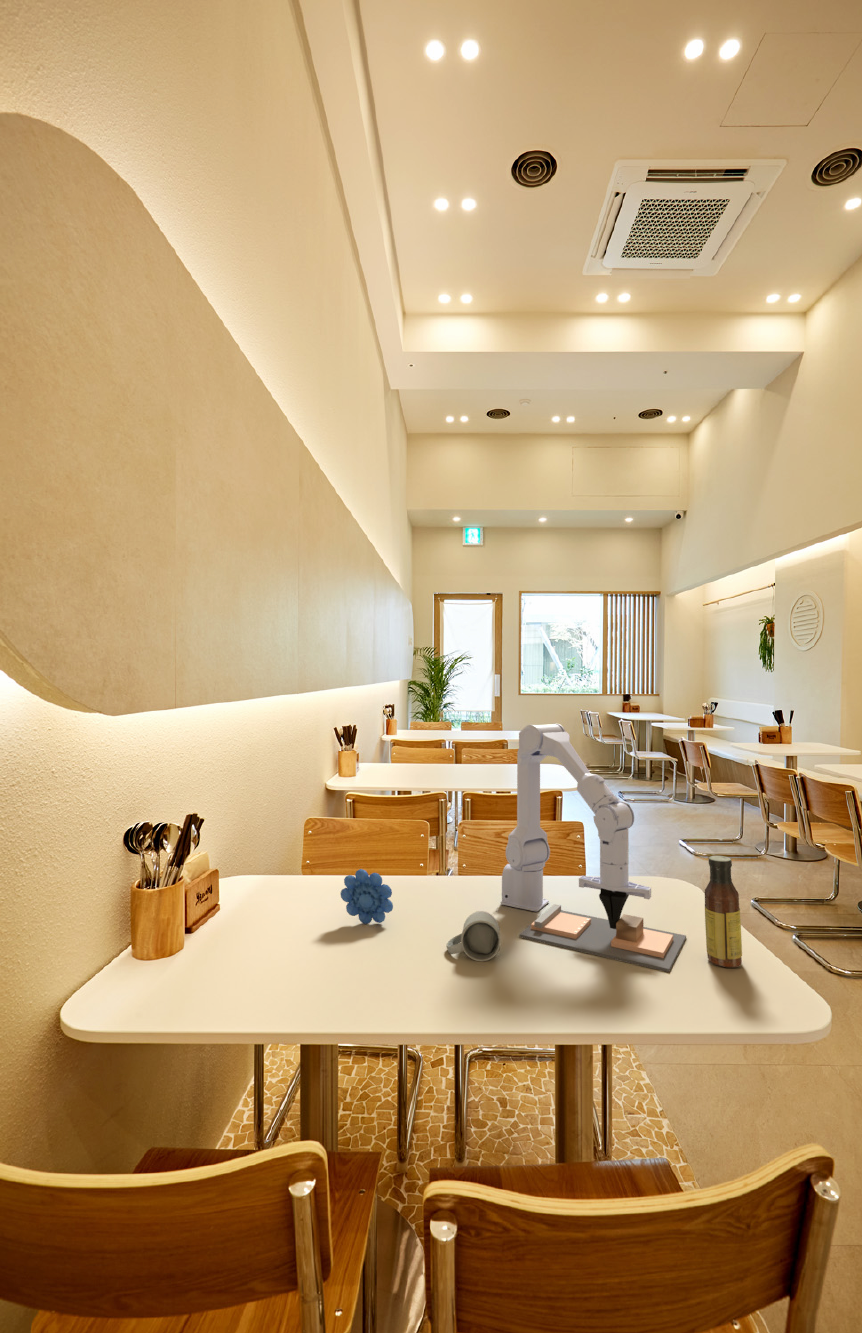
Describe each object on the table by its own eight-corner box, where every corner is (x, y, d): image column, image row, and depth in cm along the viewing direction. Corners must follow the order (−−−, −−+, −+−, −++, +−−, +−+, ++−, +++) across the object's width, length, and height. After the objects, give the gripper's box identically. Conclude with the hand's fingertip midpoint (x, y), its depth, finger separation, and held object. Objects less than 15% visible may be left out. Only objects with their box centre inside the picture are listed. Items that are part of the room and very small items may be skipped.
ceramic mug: (499, 944, 128) (498, 906, 129) (501, 962, 120) (500, 921, 120) (447, 943, 129) (447, 906, 129) (445, 961, 121) (445, 921, 121)
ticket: (529, 930, 134) (529, 920, 134) (549, 912, 144) (549, 903, 144) (574, 940, 129) (574, 929, 129) (592, 921, 139) (592, 911, 139)
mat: (519, 937, 132) (519, 934, 132) (549, 910, 147) (549, 907, 147) (669, 972, 116) (669, 969, 116) (686, 938, 132) (686, 935, 132)
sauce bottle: (739, 957, 123) (739, 855, 123) (744, 971, 117) (743, 864, 117) (703, 952, 125) (702, 852, 125) (706, 966, 119) (705, 860, 119)
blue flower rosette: (337, 931, 134) (337, 875, 135) (341, 919, 141) (342, 865, 141) (392, 931, 135) (392, 875, 135) (393, 919, 141) (393, 866, 142)
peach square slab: (611, 946, 126) (611, 926, 126) (623, 929, 135) (623, 910, 135) (663, 958, 121) (663, 937, 121) (673, 939, 129) (673, 920, 129)
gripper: (654, 861, 131) (654, 927, 130) (585, 851, 138) (586, 914, 138) (646, 870, 125) (647, 939, 124) (575, 859, 132) (575, 924, 132)
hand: (614, 927), depth 131 cm, fingers closed
